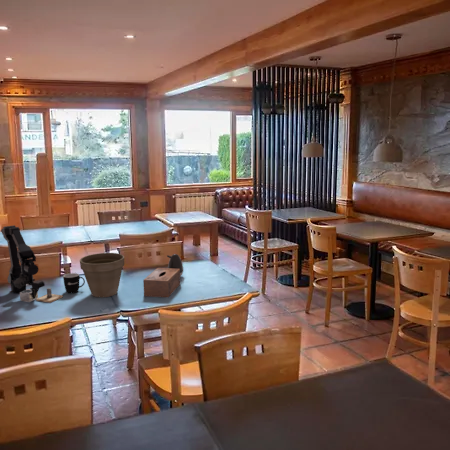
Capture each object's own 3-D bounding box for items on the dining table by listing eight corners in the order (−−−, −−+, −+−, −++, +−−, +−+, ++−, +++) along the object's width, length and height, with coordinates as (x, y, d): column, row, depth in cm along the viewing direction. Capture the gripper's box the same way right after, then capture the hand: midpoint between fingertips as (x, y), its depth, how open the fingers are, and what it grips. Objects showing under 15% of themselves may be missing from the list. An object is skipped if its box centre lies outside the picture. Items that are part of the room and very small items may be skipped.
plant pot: (85, 303, 267) (83, 265, 263) (78, 290, 289) (76, 255, 285) (130, 296, 278) (128, 260, 274) (120, 285, 299) (118, 250, 295)
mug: (65, 295, 281) (64, 278, 280) (63, 290, 289) (62, 274, 287) (86, 291, 287) (85, 275, 285) (83, 287, 295) (82, 271, 293)
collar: (20, 300, 272) (19, 292, 271) (28, 297, 278) (28, 288, 277) (29, 302, 270) (29, 293, 269) (38, 298, 276) (37, 290, 275)
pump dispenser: (168, 274, 322) (168, 252, 319) (184, 274, 321) (183, 252, 318) (166, 278, 311) (165, 255, 309) (182, 279, 311) (181, 256, 308)
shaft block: (36, 300, 272) (35, 290, 271) (48, 295, 281) (47, 285, 280) (50, 302, 269) (50, 292, 268) (62, 297, 278) (62, 287, 277)
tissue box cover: (158, 283, 304) (157, 267, 302) (180, 284, 301) (180, 268, 299) (144, 296, 279) (143, 279, 277) (168, 297, 276) (167, 281, 274)
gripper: (2, 273, 267) (5, 300, 270) (29, 276, 260) (32, 304, 263) (17, 268, 277) (20, 294, 280) (44, 271, 270) (46, 298, 273)
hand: (29, 297), depth 274 cm, fingers closed on collar, 7 cm apart
